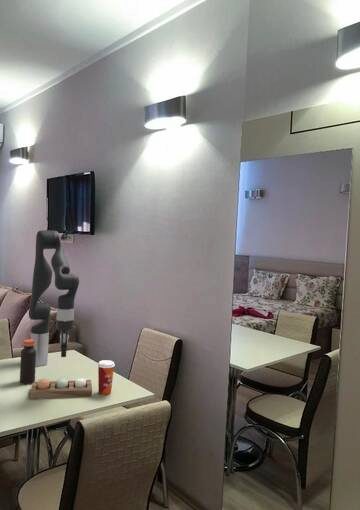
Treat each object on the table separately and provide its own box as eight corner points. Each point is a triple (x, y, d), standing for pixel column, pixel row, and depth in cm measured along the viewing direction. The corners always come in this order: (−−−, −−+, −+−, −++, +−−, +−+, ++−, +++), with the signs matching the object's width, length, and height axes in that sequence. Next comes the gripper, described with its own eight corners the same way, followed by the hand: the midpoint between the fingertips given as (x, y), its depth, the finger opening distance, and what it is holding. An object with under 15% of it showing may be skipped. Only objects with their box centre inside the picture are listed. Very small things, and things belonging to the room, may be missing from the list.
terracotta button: (37, 387, 183) (38, 379, 182) (49, 387, 184) (49, 378, 184) (37, 392, 178) (37, 383, 178) (48, 391, 179) (49, 382, 179)
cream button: (74, 386, 187) (75, 378, 186) (85, 386, 188) (85, 377, 188) (74, 390, 182) (75, 381, 182) (85, 390, 183) (86, 381, 183)
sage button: (56, 387, 185) (57, 378, 184) (67, 386, 186) (67, 378, 186) (56, 391, 180) (56, 382, 180) (67, 390, 181) (67, 382, 181)
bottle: (16, 382, 191) (18, 340, 190) (27, 378, 197) (29, 337, 196) (26, 385, 188) (28, 343, 187) (38, 381, 194) (39, 340, 193)
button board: (32, 388, 185) (32, 381, 185) (90, 386, 192) (91, 380, 192) (29, 399, 174) (30, 392, 174) (91, 396, 181) (92, 389, 180)
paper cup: (107, 397, 181) (109, 366, 180) (92, 393, 184) (94, 363, 183) (116, 391, 188) (118, 361, 188) (102, 387, 191) (103, 358, 190)
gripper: (57, 315, 187) (55, 352, 188) (56, 321, 175) (54, 361, 175) (73, 315, 189) (72, 352, 190) (74, 321, 177) (72, 360, 177)
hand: (63, 356), depth 183 cm, fingers closed
